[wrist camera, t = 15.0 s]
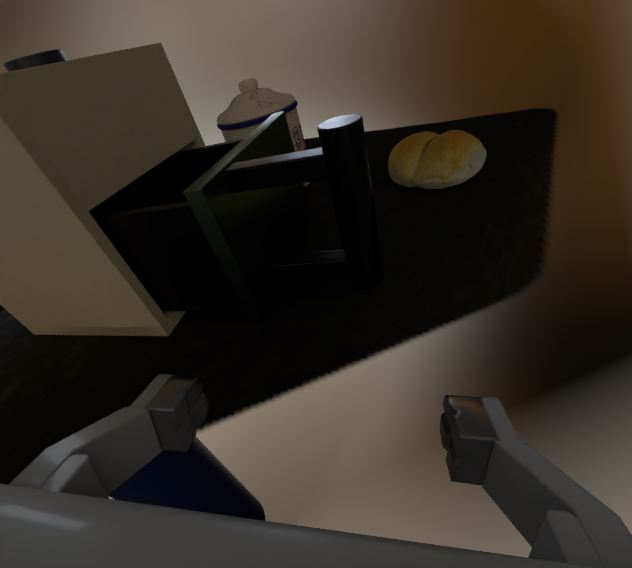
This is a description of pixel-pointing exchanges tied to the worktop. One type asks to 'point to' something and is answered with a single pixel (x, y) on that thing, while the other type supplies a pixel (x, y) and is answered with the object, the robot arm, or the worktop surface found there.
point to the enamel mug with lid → (259, 113)
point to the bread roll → (436, 159)
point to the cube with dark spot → (81, 184)
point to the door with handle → (245, 219)
